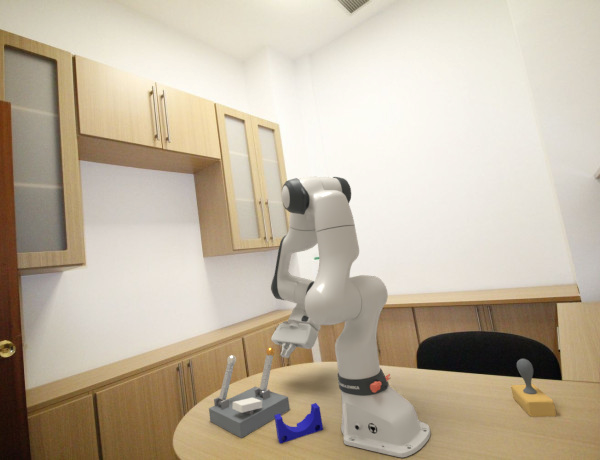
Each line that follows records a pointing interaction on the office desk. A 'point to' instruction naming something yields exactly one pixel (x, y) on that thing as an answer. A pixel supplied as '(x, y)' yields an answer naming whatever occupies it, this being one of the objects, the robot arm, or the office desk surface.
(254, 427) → the panel
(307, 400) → the office desk surface
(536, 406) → the rubber stamp
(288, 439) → the cable clip
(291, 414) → the office desk surface
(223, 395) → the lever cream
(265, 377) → the lever orange
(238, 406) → the white rectangular block
